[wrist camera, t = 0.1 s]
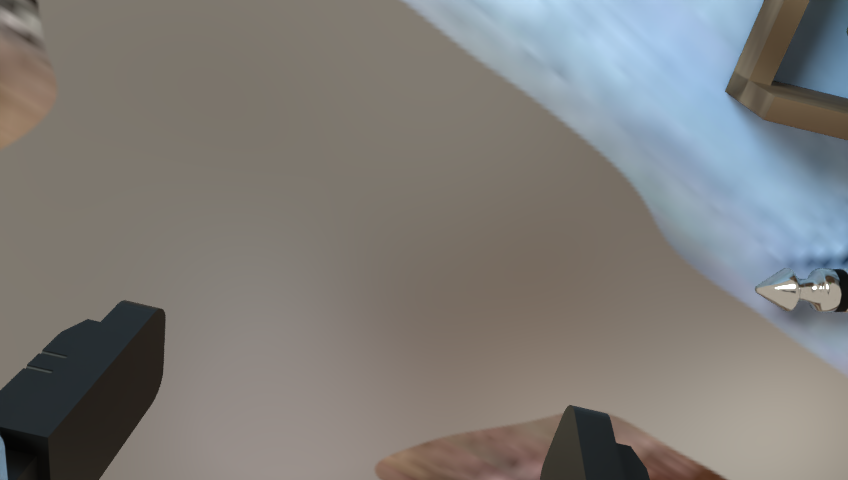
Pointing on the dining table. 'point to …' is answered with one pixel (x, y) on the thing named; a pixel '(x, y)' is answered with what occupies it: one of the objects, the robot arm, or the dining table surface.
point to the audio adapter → (808, 290)
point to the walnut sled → (777, 98)
